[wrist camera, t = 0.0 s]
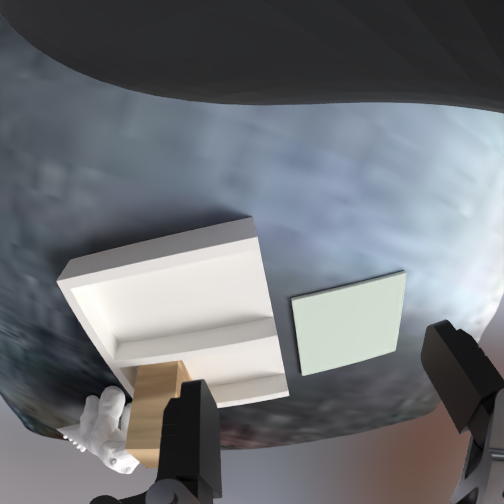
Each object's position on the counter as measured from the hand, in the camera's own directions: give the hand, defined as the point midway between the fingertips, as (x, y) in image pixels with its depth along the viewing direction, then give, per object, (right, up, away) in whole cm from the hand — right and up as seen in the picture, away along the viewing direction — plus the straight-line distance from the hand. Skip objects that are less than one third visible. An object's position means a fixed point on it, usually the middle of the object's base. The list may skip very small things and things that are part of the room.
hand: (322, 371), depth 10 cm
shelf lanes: (-9, -3, +21) cm, 23 cm away
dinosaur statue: (-22, -16, +27) cm, 39 cm away
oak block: (-12, -9, +23) cm, 27 cm away
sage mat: (+8, -4, +23) cm, 25 cm away
